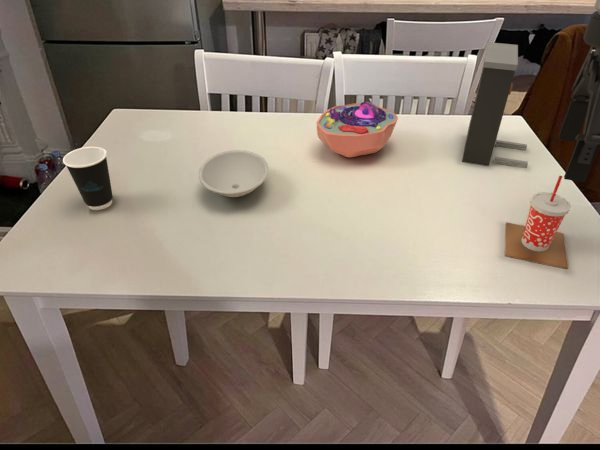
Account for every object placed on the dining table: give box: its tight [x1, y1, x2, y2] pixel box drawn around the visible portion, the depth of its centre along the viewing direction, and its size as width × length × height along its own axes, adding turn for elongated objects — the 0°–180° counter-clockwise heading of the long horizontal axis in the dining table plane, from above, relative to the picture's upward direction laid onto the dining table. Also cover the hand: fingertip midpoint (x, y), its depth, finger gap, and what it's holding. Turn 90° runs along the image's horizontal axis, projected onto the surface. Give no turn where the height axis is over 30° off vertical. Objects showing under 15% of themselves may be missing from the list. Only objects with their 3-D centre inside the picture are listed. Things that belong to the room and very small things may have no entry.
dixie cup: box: [62, 146, 114, 211], centre depth 92 cm, size 8×8×11 cm
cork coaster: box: [504, 221, 569, 270], centre depth 83 cm, size 10×10×1 cm
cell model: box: [316, 101, 399, 158], centre depth 109 cm, size 17×20×11 cm
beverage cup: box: [521, 175, 572, 252], centre depth 79 cm, size 6×6×14 cm
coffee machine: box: [461, 42, 529, 169], centre depth 104 cm, size 14×14×23 cm
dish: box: [198, 149, 270, 198], centre depth 97 cm, size 18×14×5 cm
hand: (570, 158), depth 73 cm, fingers open, 13 cm apart
